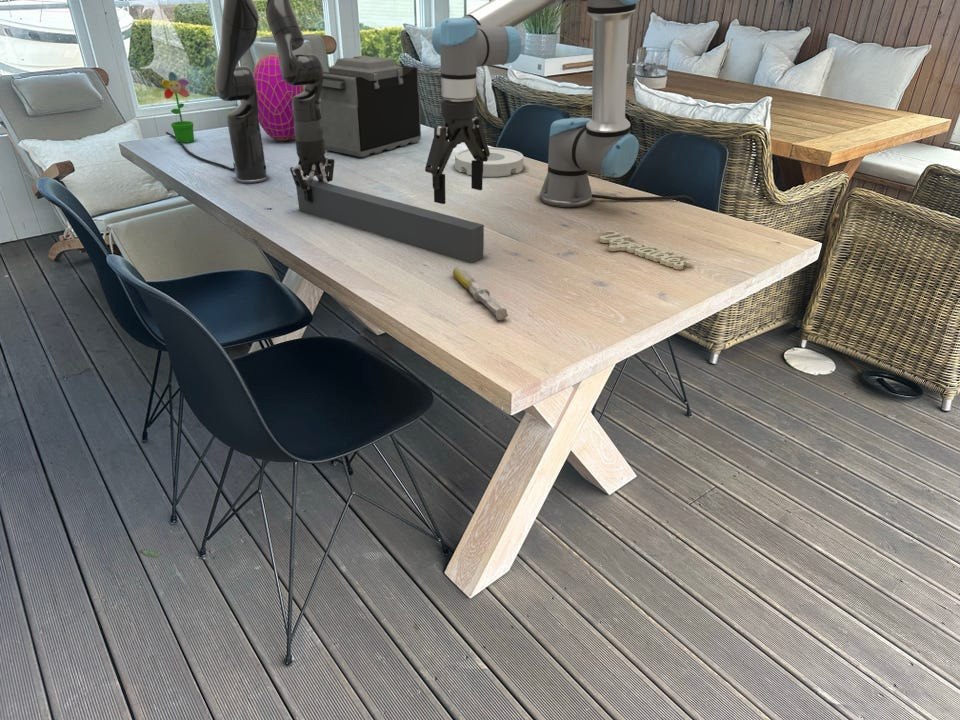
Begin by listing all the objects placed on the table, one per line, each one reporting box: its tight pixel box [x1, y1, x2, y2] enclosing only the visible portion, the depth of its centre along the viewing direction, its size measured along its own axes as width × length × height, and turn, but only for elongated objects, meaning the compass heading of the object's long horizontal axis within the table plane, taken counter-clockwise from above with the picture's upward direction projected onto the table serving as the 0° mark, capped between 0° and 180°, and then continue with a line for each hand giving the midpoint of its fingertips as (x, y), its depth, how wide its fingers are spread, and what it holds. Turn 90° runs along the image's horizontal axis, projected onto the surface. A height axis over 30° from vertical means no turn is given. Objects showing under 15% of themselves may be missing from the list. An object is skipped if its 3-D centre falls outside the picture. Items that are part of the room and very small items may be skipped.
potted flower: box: [160, 71, 195, 144], centre depth 255 cm, size 9×8×25 cm
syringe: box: [452, 266, 509, 321], centre depth 145 cm, size 25×4×3 cm, turn 21°
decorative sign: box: [599, 230, 690, 270], centre depth 167 cm, size 26×1×10 cm
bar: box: [296, 179, 485, 264], centre depth 176 cm, size 61×4×8 cm, turn 53°
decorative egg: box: [252, 54, 305, 142], centre depth 257 cm, size 19×19×30 cm
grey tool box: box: [320, 55, 422, 159], centre depth 250 cm, size 37×22×30 cm, turn 144°
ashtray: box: [454, 146, 525, 178], centre depth 232 cm, size 23×23×4 cm
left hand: (316, 199), depth 190 cm, fingers closed on bar, 4 cm apart
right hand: (458, 195), depth 158 cm, fingers open, 13 cm apart
